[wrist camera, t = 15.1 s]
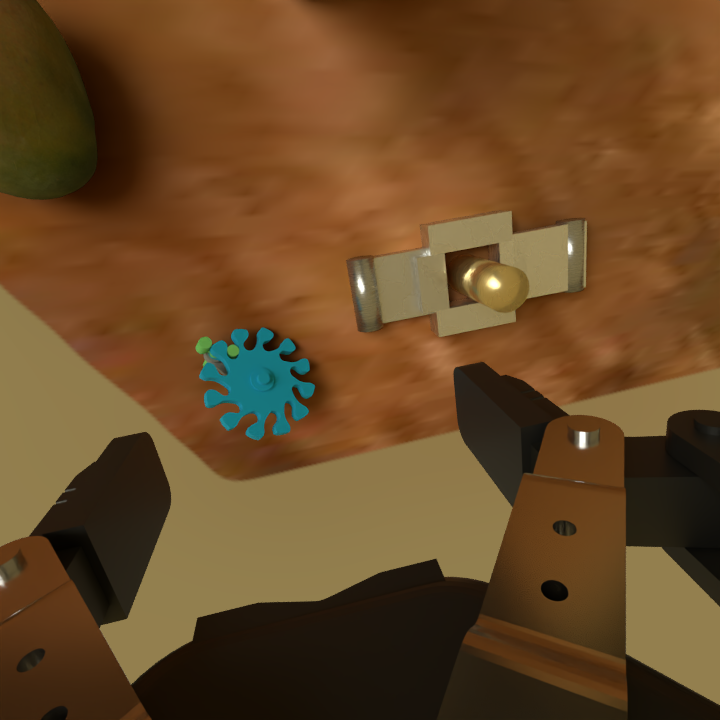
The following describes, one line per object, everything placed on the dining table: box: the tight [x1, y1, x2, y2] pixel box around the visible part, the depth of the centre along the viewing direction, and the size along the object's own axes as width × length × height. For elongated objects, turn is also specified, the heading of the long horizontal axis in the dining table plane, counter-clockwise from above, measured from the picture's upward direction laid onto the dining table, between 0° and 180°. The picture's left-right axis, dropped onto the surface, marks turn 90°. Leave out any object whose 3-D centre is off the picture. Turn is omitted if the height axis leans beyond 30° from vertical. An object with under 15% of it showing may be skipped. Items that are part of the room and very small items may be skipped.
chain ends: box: [346, 210, 587, 337], centre depth 41 cm, size 10×22×3 cm, turn 99°
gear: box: [196, 327, 315, 440], centre depth 40 cm, size 11×6×10 cm
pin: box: [446, 254, 529, 313], centre depth 38 cm, size 4×4×9 cm
